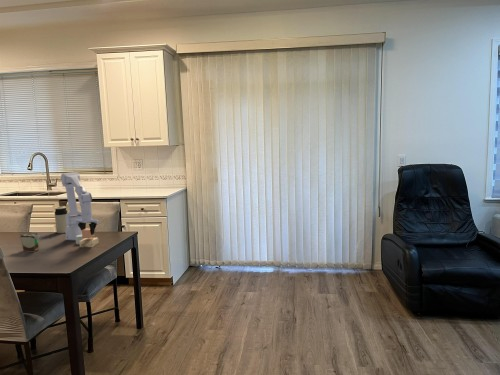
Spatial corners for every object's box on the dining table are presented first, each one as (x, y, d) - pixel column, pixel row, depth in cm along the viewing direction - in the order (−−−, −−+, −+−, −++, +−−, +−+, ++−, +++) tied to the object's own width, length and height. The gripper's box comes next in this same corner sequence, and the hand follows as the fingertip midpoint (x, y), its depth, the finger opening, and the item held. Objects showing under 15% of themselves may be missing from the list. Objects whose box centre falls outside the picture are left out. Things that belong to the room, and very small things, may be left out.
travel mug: (56, 234, 256) (54, 208, 254) (56, 231, 263) (54, 207, 261) (69, 232, 260) (66, 207, 257) (68, 230, 267) (66, 205, 264)
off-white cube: (76, 244, 229) (75, 236, 228) (79, 242, 234) (78, 234, 233) (84, 244, 229) (83, 236, 229) (87, 241, 234) (86, 234, 234)
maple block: (79, 247, 223) (79, 241, 222) (86, 243, 231) (86, 237, 230) (92, 247, 222) (91, 241, 222) (98, 243, 230) (98, 237, 230)
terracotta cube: (82, 238, 224) (81, 230, 223) (87, 235, 228) (86, 228, 228) (89, 238, 223) (88, 230, 222) (94, 236, 227) (93, 228, 227)
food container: (45, 249, 221) (44, 233, 219) (37, 252, 215) (35, 235, 213) (30, 247, 225) (28, 231, 223) (21, 250, 219) (19, 234, 217)
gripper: (71, 214, 221) (73, 235, 223) (93, 214, 218) (95, 236, 220) (78, 211, 228) (80, 232, 230) (100, 211, 225) (102, 233, 227)
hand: (88, 234), depth 225 cm, fingers closed on terracotta cube, 5 cm apart
